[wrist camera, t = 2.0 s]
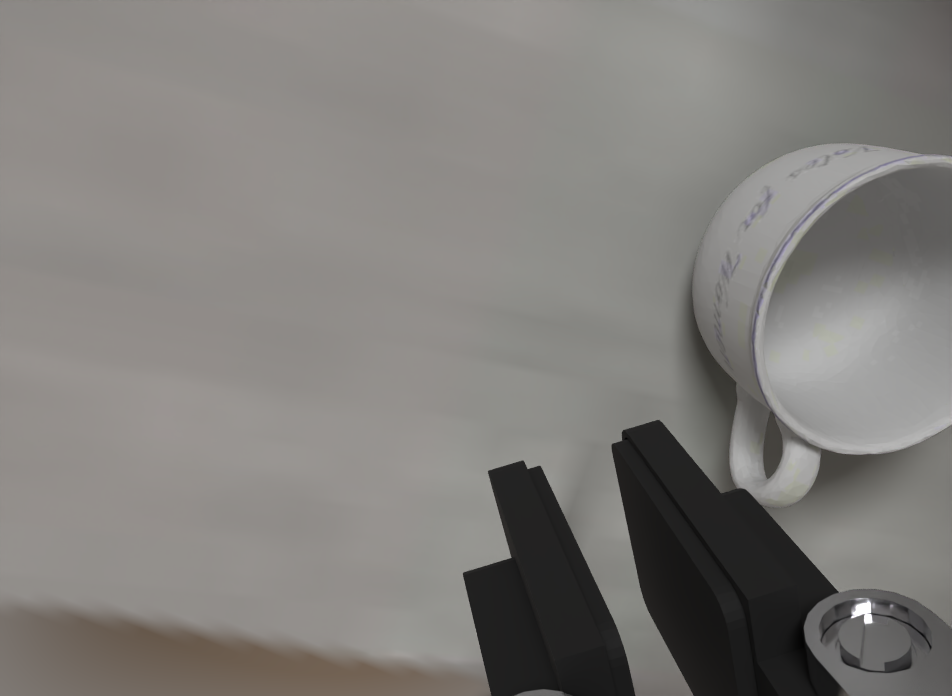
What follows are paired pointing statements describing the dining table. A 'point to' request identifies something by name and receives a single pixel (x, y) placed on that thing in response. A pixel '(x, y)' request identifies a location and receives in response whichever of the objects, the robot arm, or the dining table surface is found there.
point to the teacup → (830, 308)
